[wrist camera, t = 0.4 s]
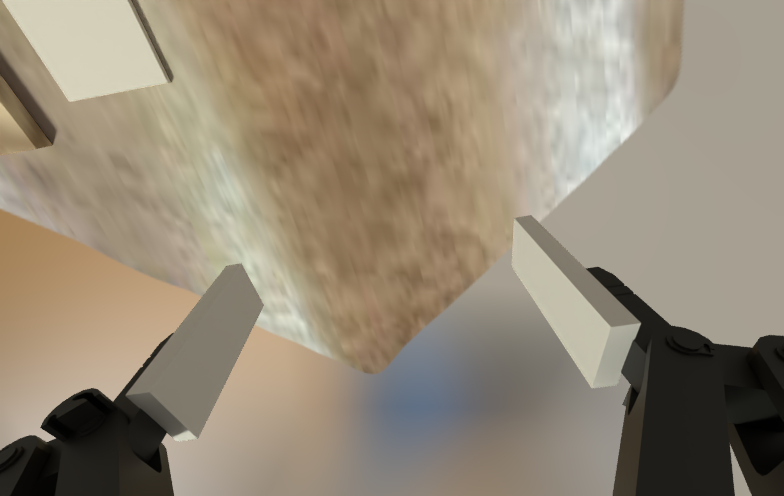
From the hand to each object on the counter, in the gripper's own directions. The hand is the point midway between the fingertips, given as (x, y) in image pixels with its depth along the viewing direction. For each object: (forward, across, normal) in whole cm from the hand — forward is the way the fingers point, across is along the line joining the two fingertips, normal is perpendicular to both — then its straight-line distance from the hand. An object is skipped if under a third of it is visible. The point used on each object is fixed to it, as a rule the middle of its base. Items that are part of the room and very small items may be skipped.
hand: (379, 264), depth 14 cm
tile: (+28, -28, +17) cm, 43 cm away
